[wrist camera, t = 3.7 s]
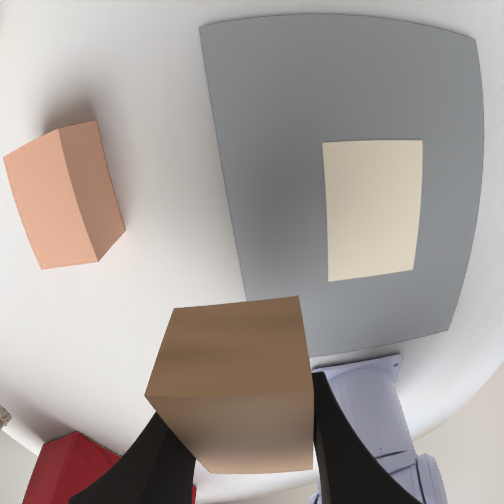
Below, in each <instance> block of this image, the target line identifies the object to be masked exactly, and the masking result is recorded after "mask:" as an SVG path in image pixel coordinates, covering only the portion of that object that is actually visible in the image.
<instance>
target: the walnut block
mask: <svg viewBox="0 0 504 504" xmlns="http://www.w3.org/2000/svg"><path fill="white" fill-rule="evenodd" d="M144 396H145V397H146V398H147V400H148V401H149V402H150V404H151V405H152V406H153V408H154V409H155V410H156V412H157V413H158V414H159V415H160V417H161V418H162V419H163V421H164V422H165V423H166V424H167V425H168V427H169V428H170V429H171V430H172V432H173V433H174V434H175V435H176V436H177V437H178V439H179V440H180V441H181V442H182V443H183V444H184V446H185V447H186V448H187V449H188V450H189V451H190V452H191V453H192V454H193V455H194V457H195V458H196V459H197V460H198V461H199V462H200V463H201V464H202V465H203V466H204V467H205V468H206V469H207V470H208V471H209V472H210V473H216V474H263V473H281V472H293V471H303V470H311V469H313V434H314V388H313V381H312V374H311V367H310V361H309V354H308V348H307V342H306V336H305V329H304V323H303V317H302V312H301V306H300V300H299V295H297V296H290V297H282V298H273V299H265V300H256V301H247V302H238V303H228V304H218V305H208V306H197V307H185V308H174V310H173V313H172V315H171V318H170V321H169V324H168V326H167V329H166V332H165V335H164V338H163V341H162V344H161V347H160V349H159V352H158V355H157V358H156V361H155V364H154V367H153V370H152V373H151V376H150V380H149V383H148V386H147V389H146V392H145V395H144Z"/></svg>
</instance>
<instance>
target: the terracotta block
mask: <svg viewBox="0 0 504 504" xmlns="http://www.w3.org/2000/svg"><path fill="white" fill-rule="evenodd" d="M3 159H4V163H5V167H6V171H7V175H8V179H9V183H10V186H11V190H12V193H13V196H14V200H15V203H16V206H17V209H18V212H19V215H20V218H21V220H22V223H23V226H24V229H25V231H26V234H27V237H28V239H29V242H30V244H31V247H32V249H33V251H34V254H35V256H36V258H37V261H38V263H39V265H40V267H41V270H42V269H49V268H56V267H64V266H71V265H78V264H86V263H93V262H99V260H100V259H101V258H102V257H103V256H104V254H105V253H106V252H107V251H108V250H109V249H110V248H111V246H112V245H113V244H114V243H115V242H116V241H117V240H118V239H119V237H120V236H121V235H122V234H123V233H124V232H125V231H126V230H125V226H124V223H123V220H122V217H121V214H120V210H119V207H118V204H117V200H116V197H115V193H114V190H113V186H112V182H111V179H110V175H109V171H108V167H107V163H106V159H105V155H104V150H103V146H102V142H101V137H100V133H99V128H98V123H97V120H95V121H89V122H84V123H79V124H75V125H70V126H66V127H62V128H58V129H56V130H53V131H51V132H49V133H47V134H45V135H43V136H41V137H39V138H37V139H35V140H33V141H31V142H29V143H28V144H26V145H24V146H22V147H20V148H18V149H17V150H15V151H13V152H11V153H10V154H8V155H6V156H5V157H3Z"/></svg>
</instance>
